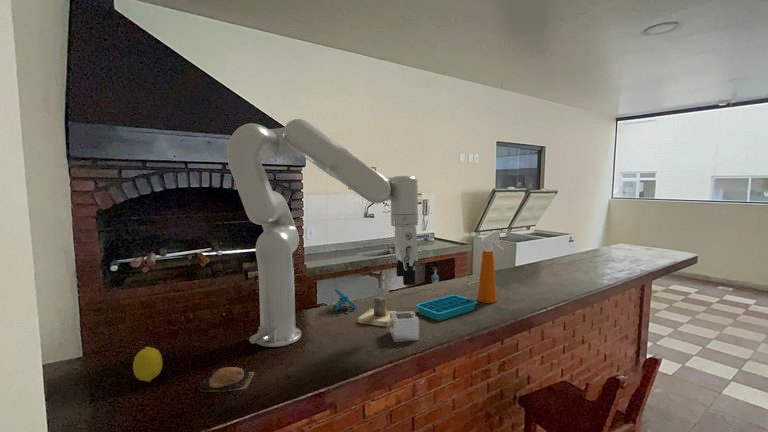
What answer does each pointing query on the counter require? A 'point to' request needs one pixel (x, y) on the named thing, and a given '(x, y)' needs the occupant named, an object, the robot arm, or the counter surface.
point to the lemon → (147, 364)
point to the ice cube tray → (446, 307)
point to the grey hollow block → (404, 326)
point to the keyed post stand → (377, 314)
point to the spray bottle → (488, 269)
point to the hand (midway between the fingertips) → (405, 280)
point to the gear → (343, 300)
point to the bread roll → (226, 380)
